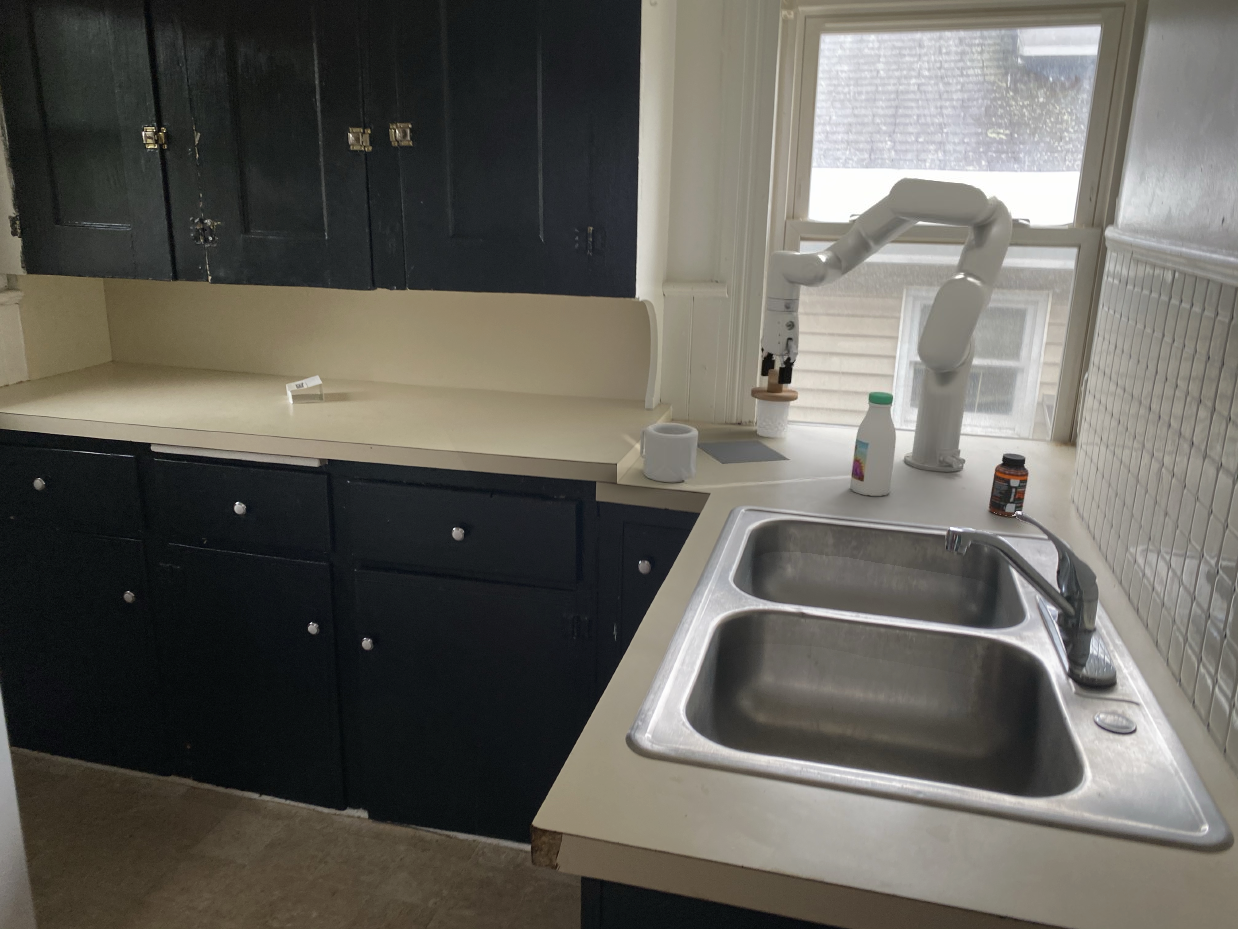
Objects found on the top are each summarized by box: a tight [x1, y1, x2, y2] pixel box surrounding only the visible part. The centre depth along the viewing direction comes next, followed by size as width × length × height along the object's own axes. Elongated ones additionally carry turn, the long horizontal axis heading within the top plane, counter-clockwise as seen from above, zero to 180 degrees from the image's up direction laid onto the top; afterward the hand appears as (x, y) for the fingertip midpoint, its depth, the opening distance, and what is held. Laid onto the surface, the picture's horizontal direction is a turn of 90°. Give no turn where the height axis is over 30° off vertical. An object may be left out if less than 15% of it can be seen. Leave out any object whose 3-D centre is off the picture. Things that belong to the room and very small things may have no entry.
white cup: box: [756, 399, 792, 439], centre depth 229 cm, size 8×8×10 cm
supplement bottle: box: [988, 452, 1029, 518], centre depth 181 cm, size 6×6×11 cm
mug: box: [639, 422, 699, 484], centre depth 197 cm, size 14×11×10 cm
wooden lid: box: [750, 368, 799, 402], centre depth 226 cm, size 11×11×6 cm
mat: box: [697, 439, 791, 465], centre depth 214 cm, size 16×16×1 cm
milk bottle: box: [850, 391, 897, 497], centre depth 190 cm, size 8×8×20 cm
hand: (775, 379), depth 226 cm, fingers open, 8 cm apart
